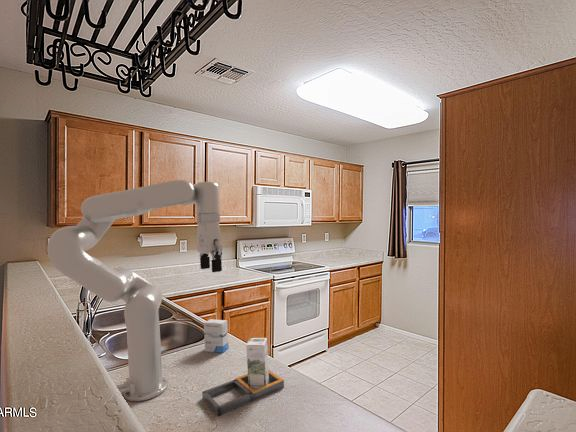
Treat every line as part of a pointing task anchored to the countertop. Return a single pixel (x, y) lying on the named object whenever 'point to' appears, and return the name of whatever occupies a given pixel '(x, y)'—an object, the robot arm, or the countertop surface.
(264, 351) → the syrup box
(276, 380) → the grey flat frame
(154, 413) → the countertop surface
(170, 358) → the countertop surface
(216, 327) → the ink box
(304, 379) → the countertop surface
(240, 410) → the countertop surface
